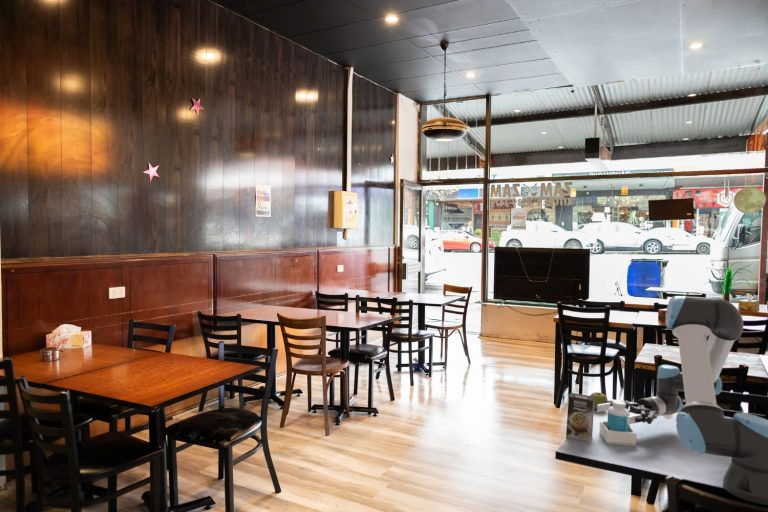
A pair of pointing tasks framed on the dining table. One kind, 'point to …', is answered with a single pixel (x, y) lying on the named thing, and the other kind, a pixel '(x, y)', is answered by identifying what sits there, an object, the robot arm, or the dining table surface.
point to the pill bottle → (618, 417)
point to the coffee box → (580, 417)
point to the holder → (618, 436)
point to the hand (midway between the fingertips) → (612, 414)
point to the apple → (598, 399)
